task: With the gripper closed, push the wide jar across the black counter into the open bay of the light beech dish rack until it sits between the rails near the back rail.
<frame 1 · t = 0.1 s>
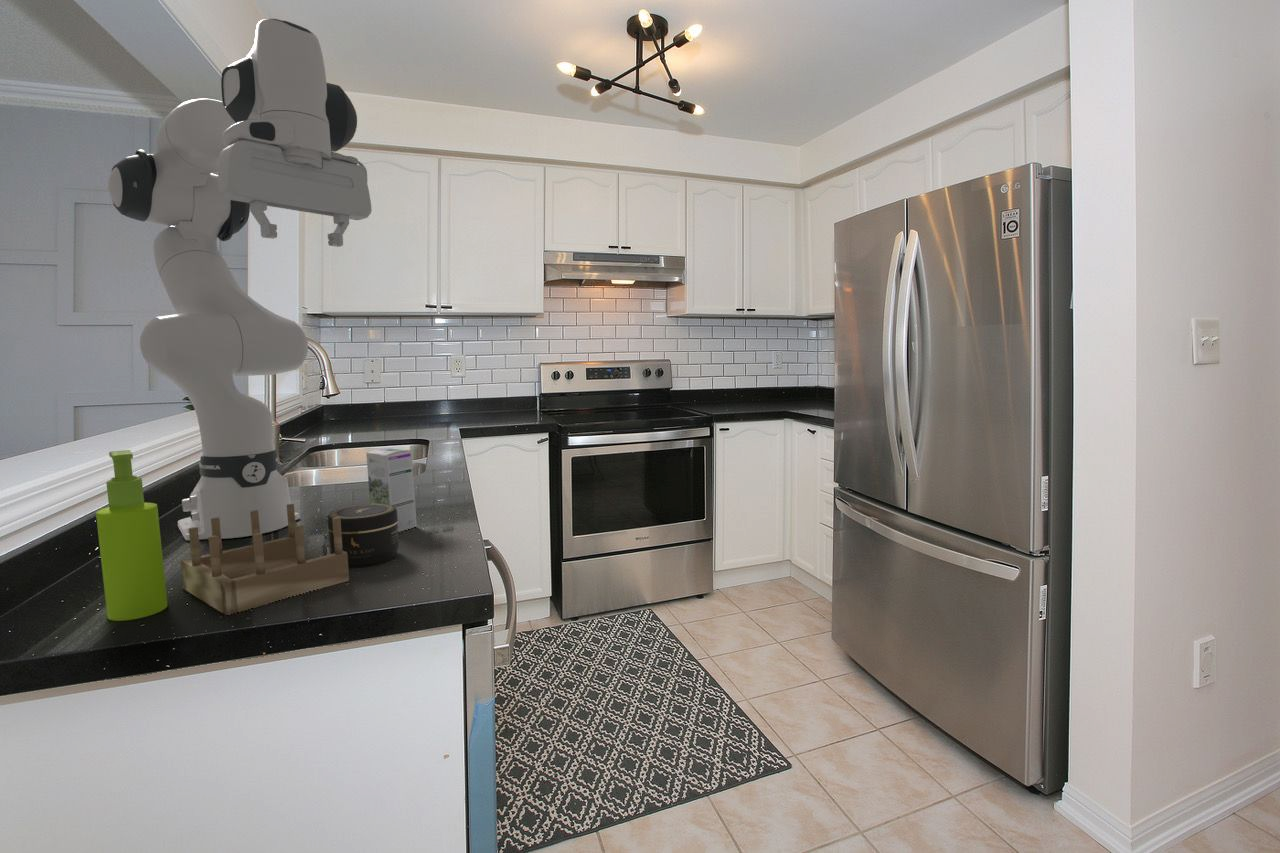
hand: (303, 242, 94), 48 cm above the worktop, tool pointing down, fingers open, 8 cm apart
syrup box: (394, 530, 116), on the worktop
soap dispenser: (137, 611, 80), on the worktop
jar: (365, 559, 99), on the worktop
dish rack: (272, 583, 89), on the worktop
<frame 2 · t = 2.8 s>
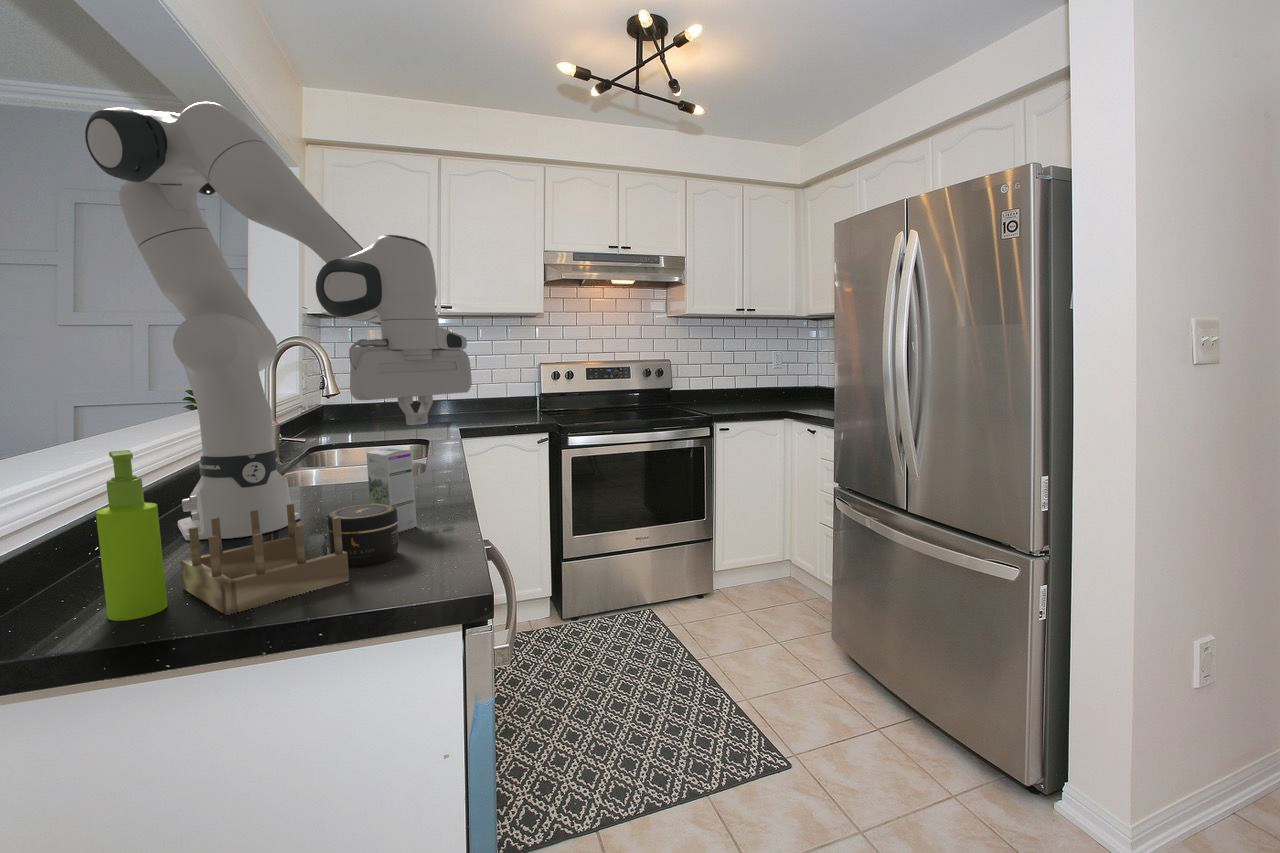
hand: (417, 424, 105), 20 cm above the worktop, tool pointing down, fingers closed
nothing on the worktop moved.
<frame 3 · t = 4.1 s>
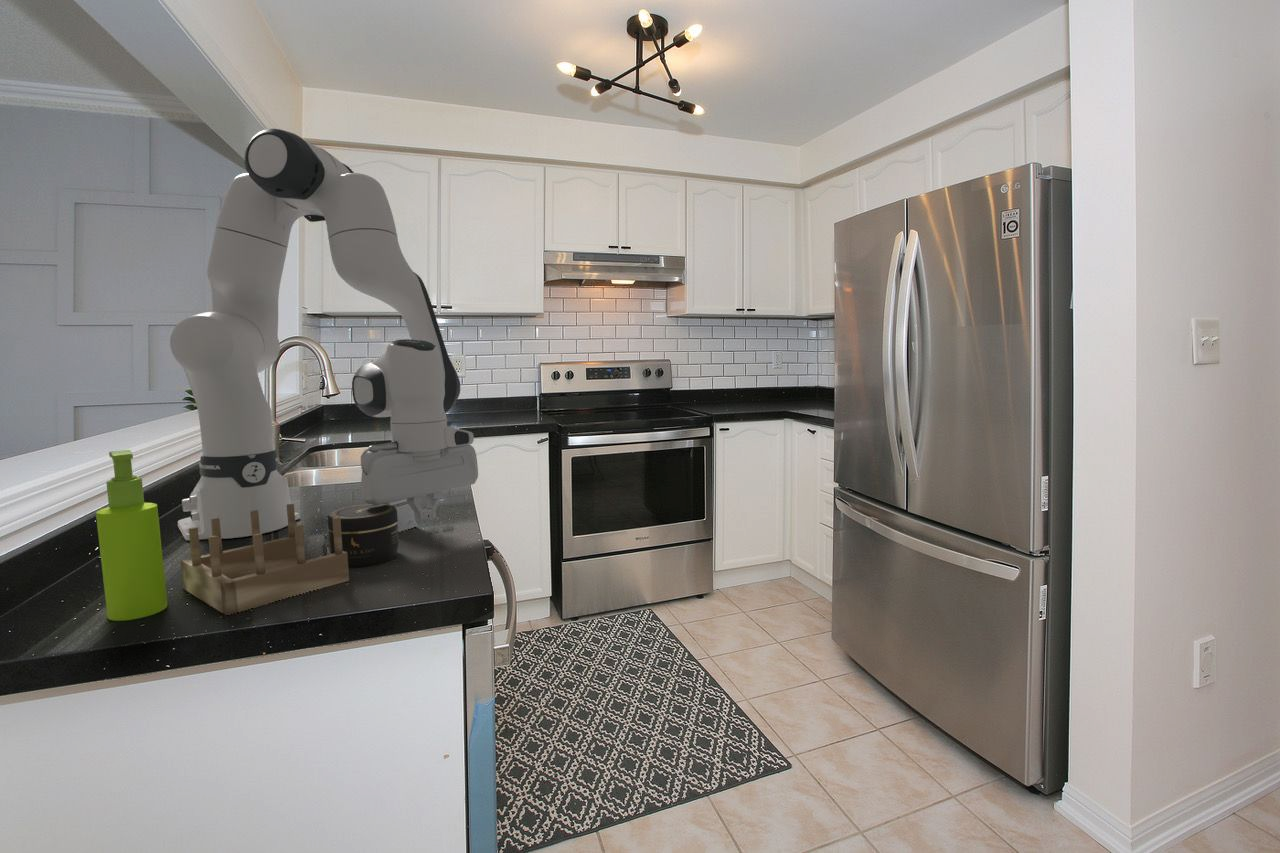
hand: (425, 520, 107), 4 cm above the worktop, tool pointing down, fingers closed
nothing on the worktop moved.
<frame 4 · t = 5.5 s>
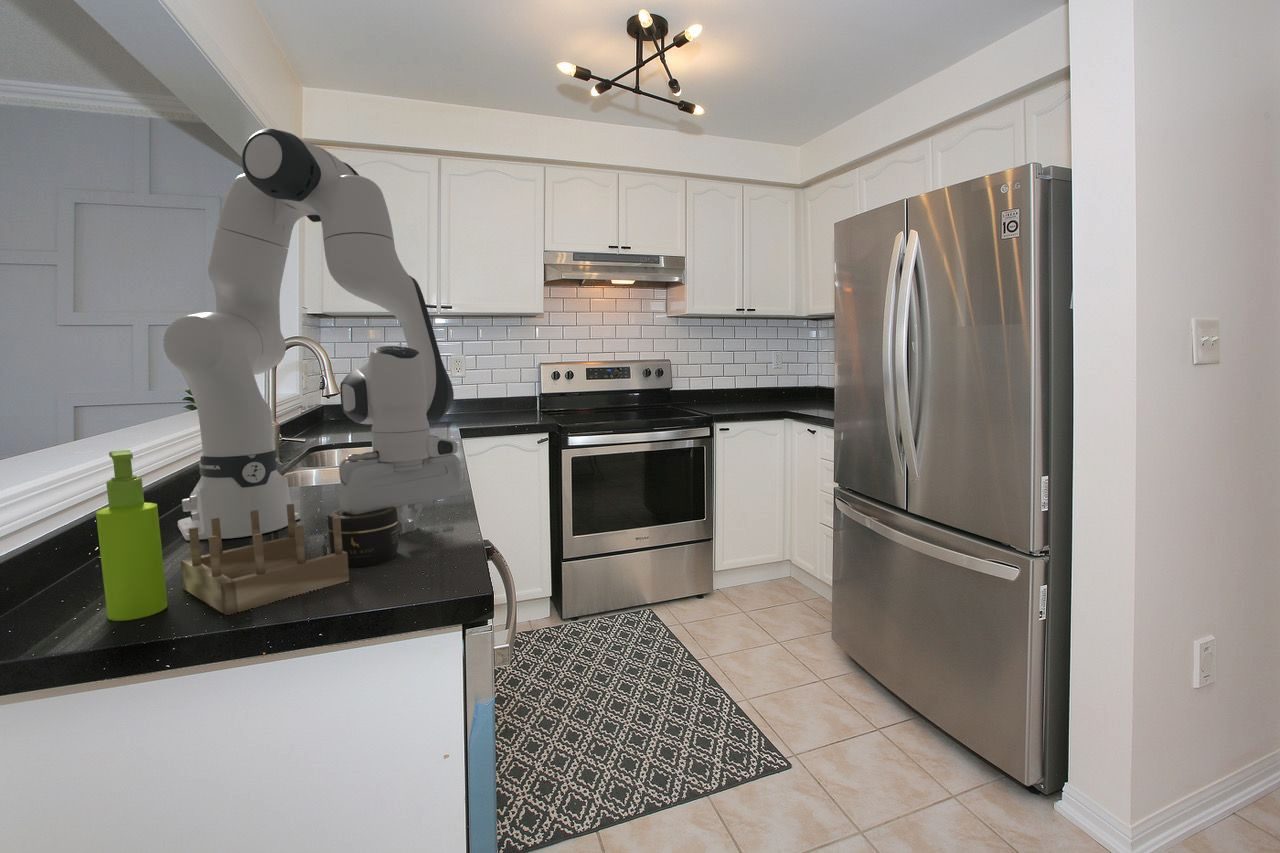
hand: (406, 531, 105), 3 cm above the worktop, tool pointing down, fingers closed
jar: (365, 559, 99), on the worktop, touching gripper
everything else where it was.
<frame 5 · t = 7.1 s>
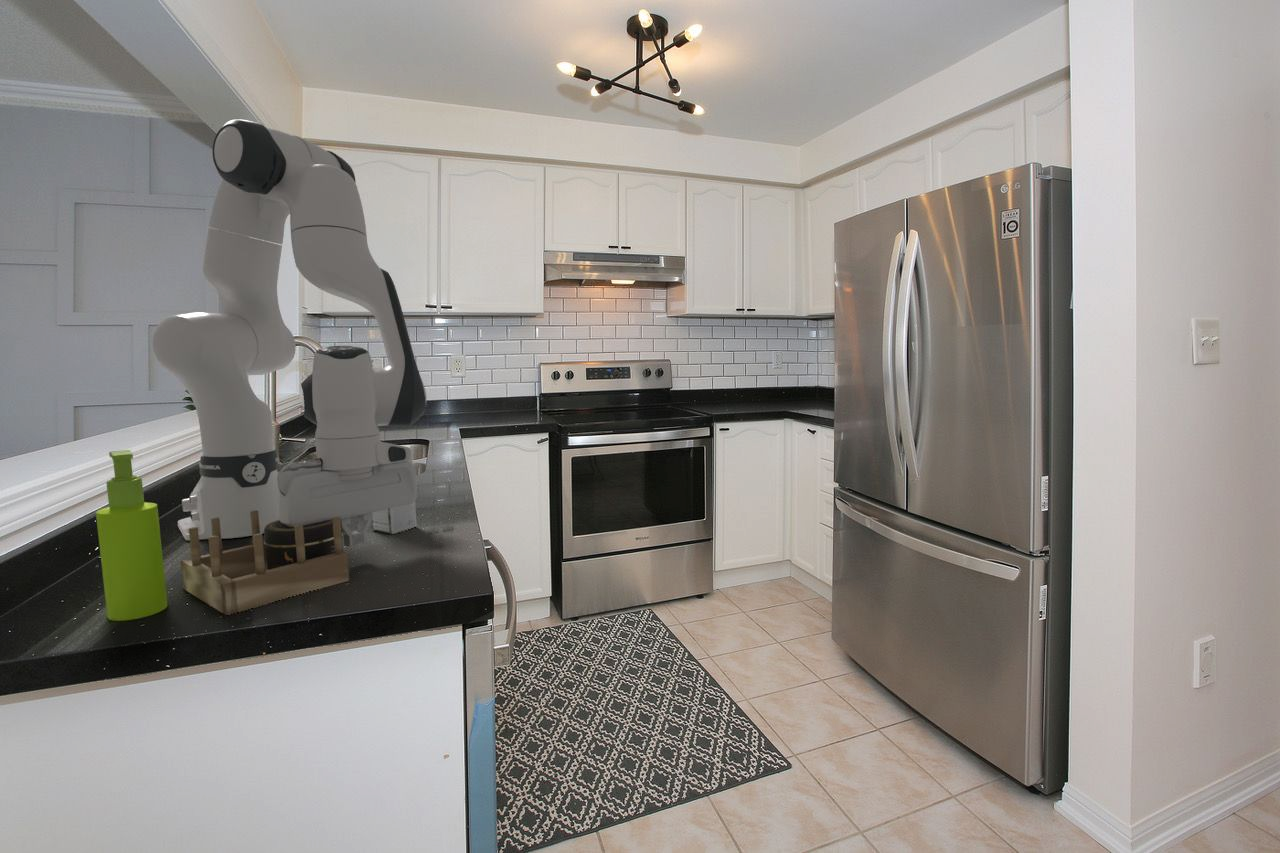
hand: (355, 544, 98), 3 cm above the worktop, tool pointing down, fingers closed
jar: (307, 574, 93), on the worktop, touching gripper
everything else where it was.
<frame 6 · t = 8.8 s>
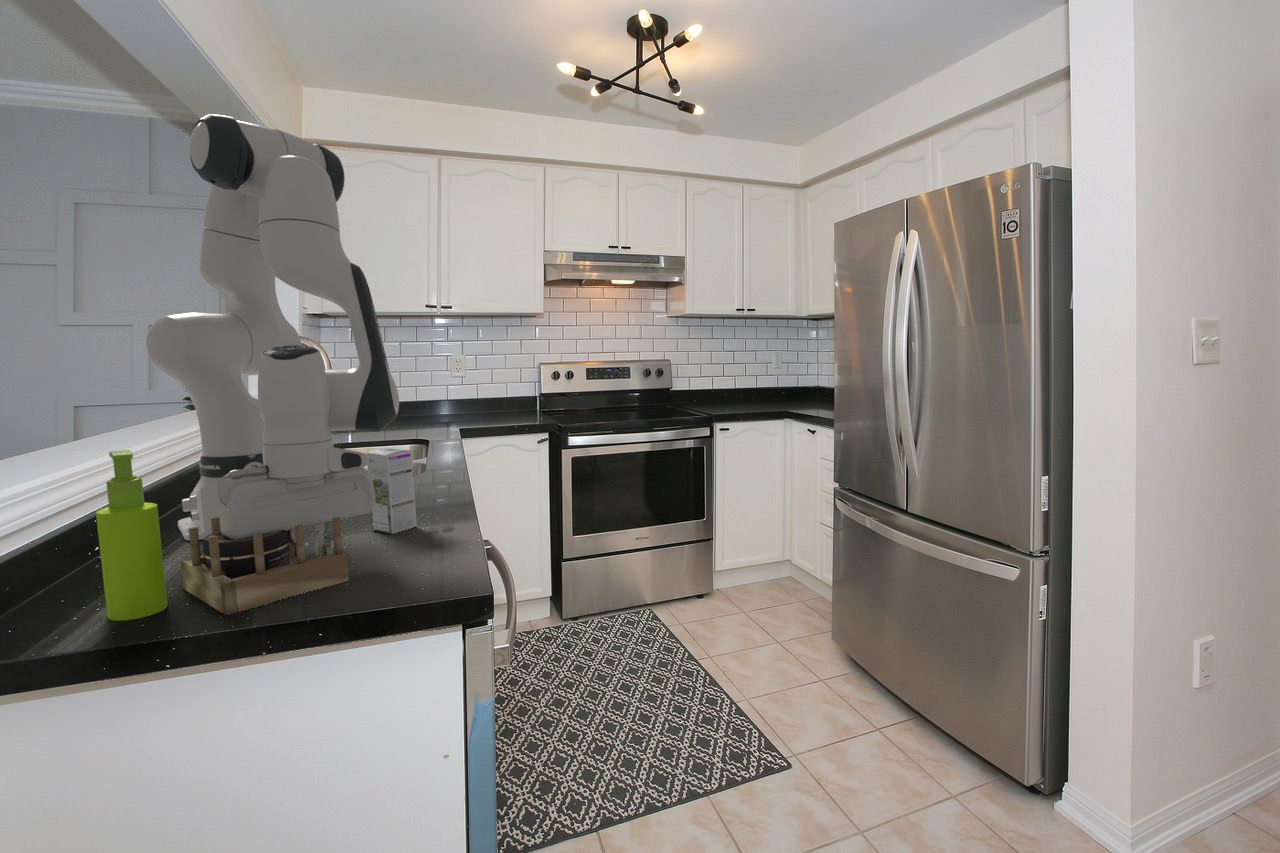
hand: (306, 556, 92), 3 cm above the worktop, tool pointing down, fingers closed
jar: (251, 587, 88), on the worktop, touching dish rack, gripper
everything else where it was.
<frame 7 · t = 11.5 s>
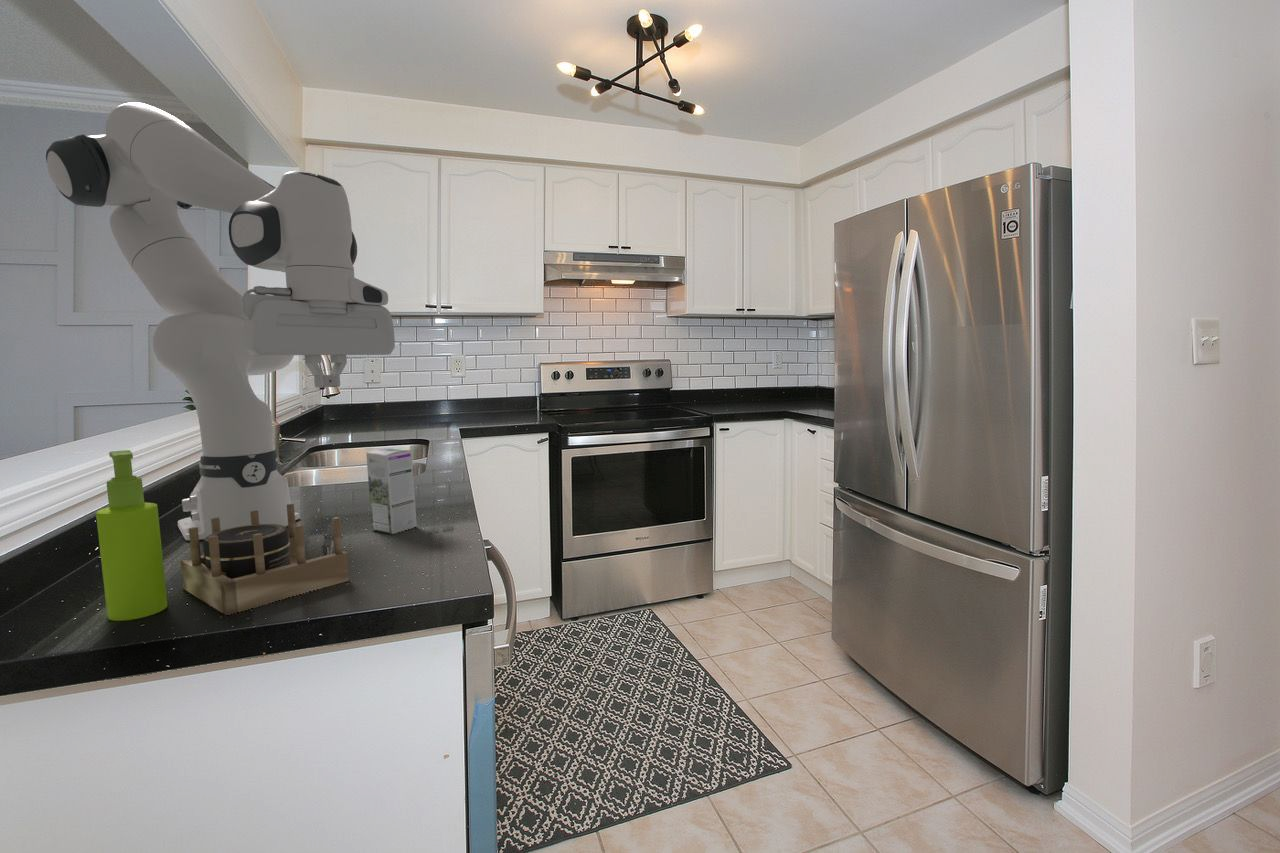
hand: (327, 387, 93), 27 cm above the worktop, tool pointing down, fingers closed
jar: (251, 588, 88), on the worktop
everything else where it was.
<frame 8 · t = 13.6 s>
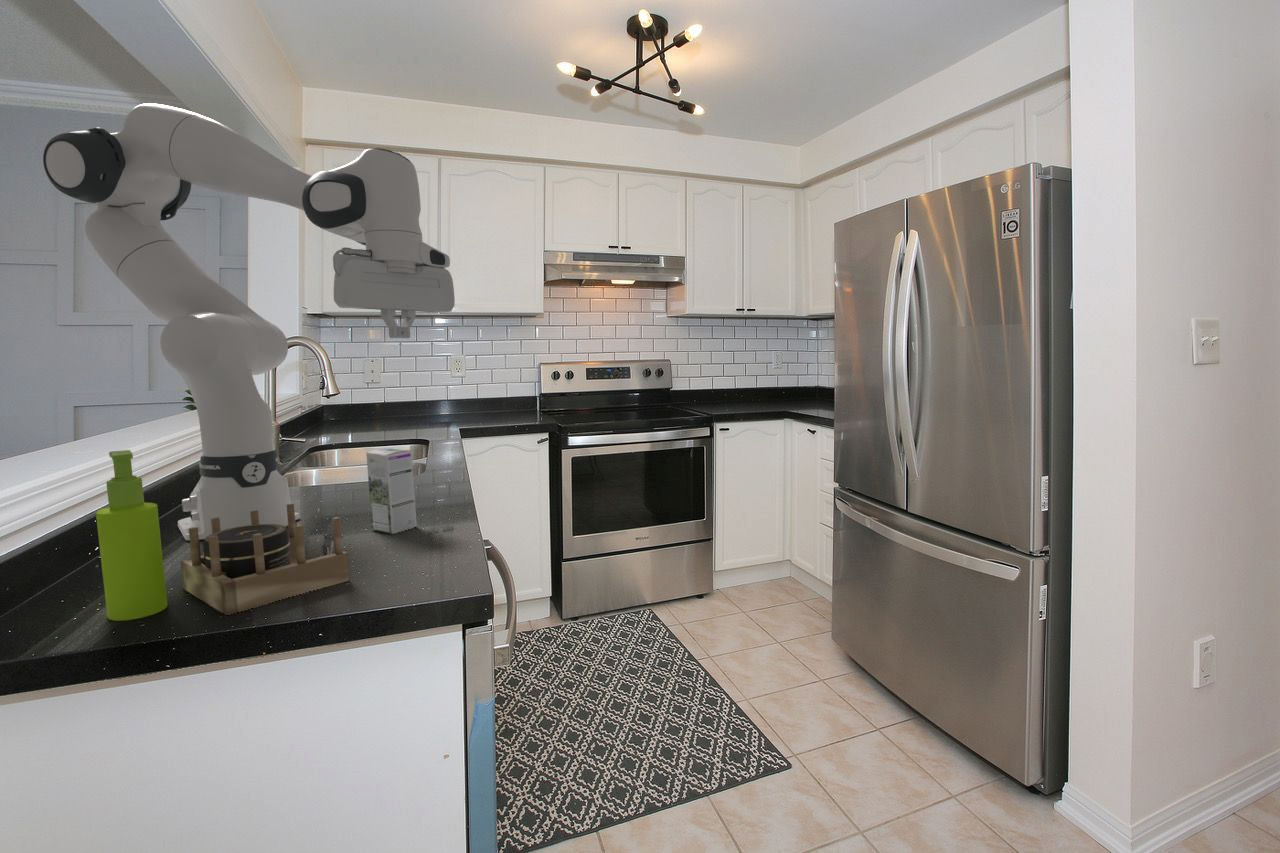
hand: (399, 338, 107), 34 cm above the worktop, tool pointing down, fingers closed
nothing on the worktop moved.
at the end: jar inside the target area (1.1 cm from its centre), on the worktop; jar tilted 0° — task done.
